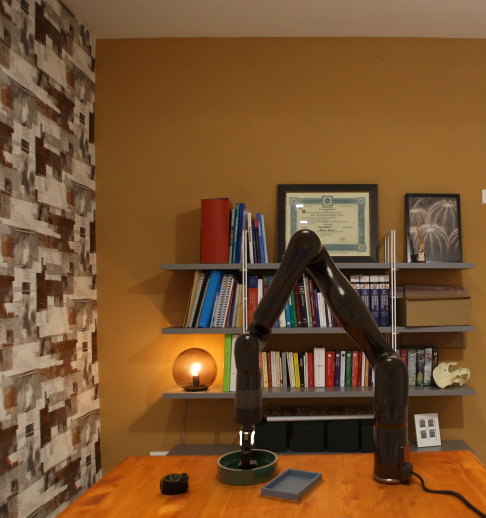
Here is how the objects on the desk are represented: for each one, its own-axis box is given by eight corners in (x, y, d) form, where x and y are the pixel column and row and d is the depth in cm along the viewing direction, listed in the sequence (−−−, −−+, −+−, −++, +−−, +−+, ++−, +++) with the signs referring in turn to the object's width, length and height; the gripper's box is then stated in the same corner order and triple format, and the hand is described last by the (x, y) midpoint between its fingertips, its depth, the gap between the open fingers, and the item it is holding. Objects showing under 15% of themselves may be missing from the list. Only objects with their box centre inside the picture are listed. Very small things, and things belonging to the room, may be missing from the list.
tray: (322, 481, 132) (322, 473, 132) (297, 503, 118) (297, 494, 118) (288, 475, 135) (288, 468, 135) (260, 496, 122) (260, 488, 122)
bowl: (287, 469, 140) (288, 453, 140) (257, 492, 124) (257, 473, 125) (239, 462, 145) (239, 446, 145) (204, 482, 130) (204, 465, 130)
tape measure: (188, 496, 122) (188, 480, 122) (158, 499, 120) (158, 483, 120) (188, 485, 128) (189, 470, 129) (160, 488, 126) (161, 473, 126)
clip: (257, 471, 136) (257, 460, 137) (256, 474, 134) (256, 463, 134) (238, 472, 136) (238, 461, 136) (237, 475, 133) (238, 464, 133)
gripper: (261, 410, 129) (259, 472, 129) (262, 397, 143) (261, 454, 143) (232, 410, 128) (230, 474, 127) (236, 398, 142) (234, 455, 141)
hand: (246, 463), depth 135 cm, fingers open, 8 cm apart
